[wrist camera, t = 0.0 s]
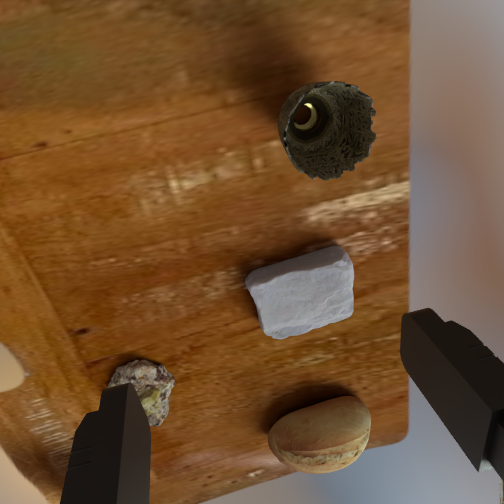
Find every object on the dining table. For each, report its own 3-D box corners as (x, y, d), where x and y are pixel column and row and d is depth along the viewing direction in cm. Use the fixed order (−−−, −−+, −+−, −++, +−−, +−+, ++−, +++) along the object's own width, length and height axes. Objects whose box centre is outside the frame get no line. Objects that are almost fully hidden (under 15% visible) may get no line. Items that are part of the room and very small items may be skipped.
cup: (337, 150, 40) (373, 175, 33) (265, 158, 39) (286, 186, 32) (341, 68, 37) (382, 77, 30) (261, 75, 36) (285, 86, 29)
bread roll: (256, 407, 56) (270, 460, 49) (358, 374, 57) (385, 422, 50) (271, 448, 61) (284, 501, 54) (364, 417, 62) (390, 465, 55)
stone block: (345, 293, 52) (342, 235, 45) (360, 322, 48) (358, 264, 42) (256, 319, 52) (239, 265, 45) (264, 350, 48) (247, 296, 41)
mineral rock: (89, 381, 46) (157, 377, 44) (103, 351, 49) (166, 348, 48) (121, 437, 51) (181, 435, 50) (132, 407, 55) (189, 404, 54)
